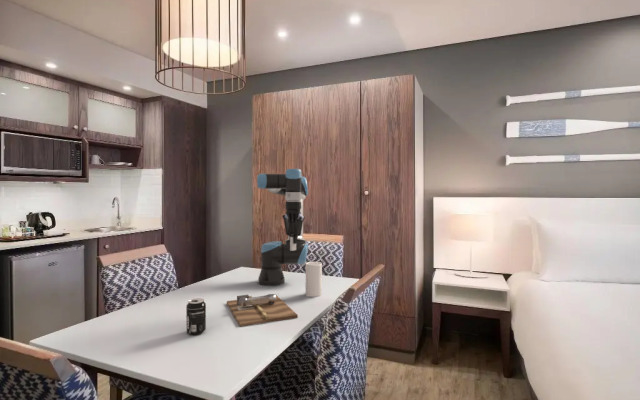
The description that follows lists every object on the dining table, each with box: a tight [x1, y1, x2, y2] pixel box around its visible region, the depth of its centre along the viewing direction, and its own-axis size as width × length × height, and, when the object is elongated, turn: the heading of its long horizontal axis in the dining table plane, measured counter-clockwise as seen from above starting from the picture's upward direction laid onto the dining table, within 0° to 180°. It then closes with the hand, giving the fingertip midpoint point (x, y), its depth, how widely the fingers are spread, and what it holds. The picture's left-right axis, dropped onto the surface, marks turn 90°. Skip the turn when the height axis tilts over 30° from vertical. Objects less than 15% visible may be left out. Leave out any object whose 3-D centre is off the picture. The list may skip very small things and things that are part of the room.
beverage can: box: [185, 297, 207, 336], centre depth 130 cm, size 7×7×12 cm
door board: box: [226, 294, 299, 328], centre depth 154 cm, size 30×24×5 cm
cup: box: [305, 261, 323, 298], centre depth 178 cm, size 8×8×16 cm
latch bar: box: [239, 293, 276, 307], centre depth 156 cm, size 17×4×3 cm, turn 119°
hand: (293, 250), depth 168 cm, fingers closed
